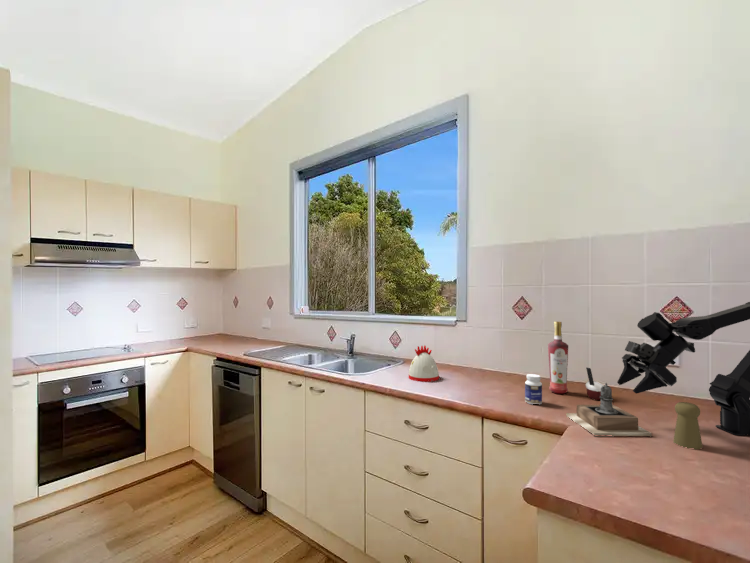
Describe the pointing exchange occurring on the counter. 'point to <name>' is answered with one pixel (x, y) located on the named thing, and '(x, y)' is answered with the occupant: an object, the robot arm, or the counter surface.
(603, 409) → the grey chess piece
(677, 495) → the counter surface
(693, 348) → the robot arm
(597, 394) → the cocoa
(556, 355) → the liquor
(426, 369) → the kitchen timer
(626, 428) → the socket block
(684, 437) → the cork
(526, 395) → the pill bottle
